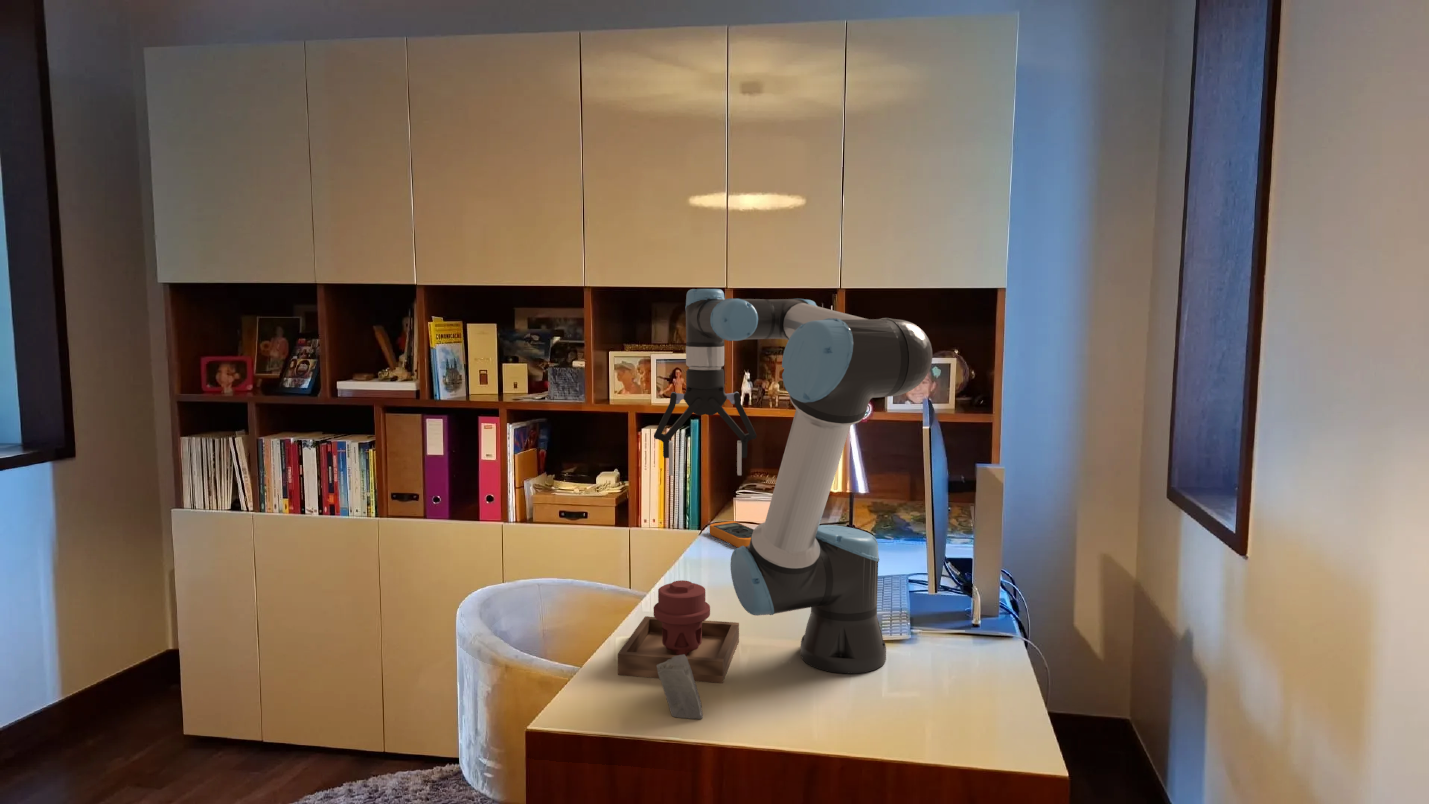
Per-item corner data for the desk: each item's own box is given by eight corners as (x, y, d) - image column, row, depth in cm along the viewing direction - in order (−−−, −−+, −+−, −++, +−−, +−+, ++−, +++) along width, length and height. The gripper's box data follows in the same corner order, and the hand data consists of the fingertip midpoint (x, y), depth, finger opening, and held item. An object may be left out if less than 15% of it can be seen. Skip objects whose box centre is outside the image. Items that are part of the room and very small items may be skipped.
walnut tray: (738, 641, 163) (739, 622, 162) (722, 683, 145) (722, 661, 145) (645, 635, 166) (645, 616, 165) (617, 674, 148) (617, 653, 148)
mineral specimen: (696, 689, 141) (700, 647, 138) (707, 725, 133) (711, 680, 131) (651, 692, 139) (654, 649, 137) (659, 729, 131) (662, 683, 129)
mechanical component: (709, 640, 160) (710, 662, 150) (655, 640, 160) (652, 662, 150) (709, 574, 159) (710, 593, 149) (654, 575, 159) (651, 593, 149)
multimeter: (742, 552, 222) (742, 538, 222) (707, 535, 238) (707, 523, 237) (770, 547, 226) (770, 534, 226) (734, 531, 242) (734, 519, 241)
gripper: (767, 366, 176) (766, 470, 178) (643, 366, 175) (643, 470, 178) (770, 369, 168) (769, 477, 171) (640, 369, 168) (641, 477, 170)
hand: (705, 474), depth 174 cm, fingers open, 13 cm apart
